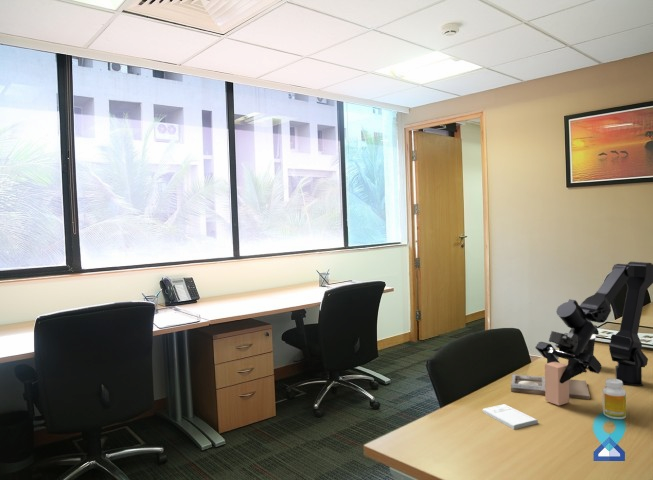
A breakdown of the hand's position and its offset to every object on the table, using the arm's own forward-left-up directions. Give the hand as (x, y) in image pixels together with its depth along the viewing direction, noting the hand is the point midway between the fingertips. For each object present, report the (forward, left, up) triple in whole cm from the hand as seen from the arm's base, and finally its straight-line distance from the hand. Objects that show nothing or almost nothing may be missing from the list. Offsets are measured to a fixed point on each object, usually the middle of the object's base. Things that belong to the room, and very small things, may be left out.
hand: (553, 380), depth 142 cm
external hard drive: (+12, +14, -8) cm, 20 cm away
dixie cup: (-11, -40, -7) cm, 42 cm away
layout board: (+1, -14, -7) cm, 15 cm away
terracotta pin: (-1, -1, -7) cm, 7 cm away
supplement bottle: (-15, +4, -7) cm, 17 cm away
